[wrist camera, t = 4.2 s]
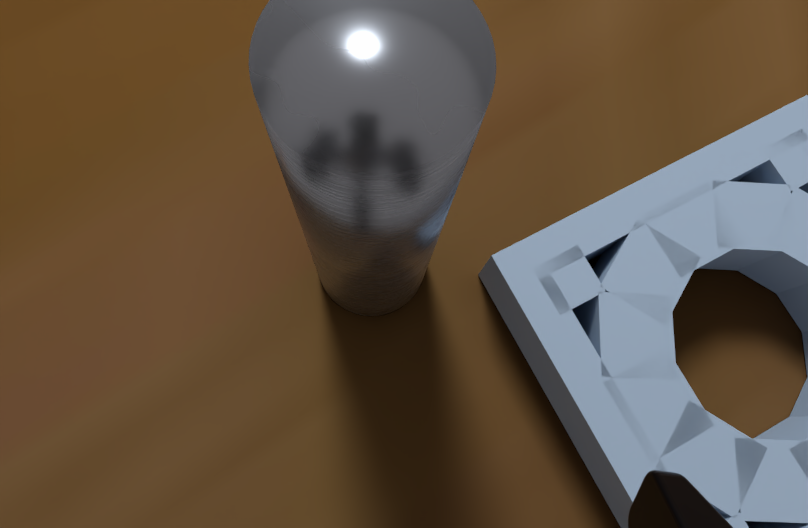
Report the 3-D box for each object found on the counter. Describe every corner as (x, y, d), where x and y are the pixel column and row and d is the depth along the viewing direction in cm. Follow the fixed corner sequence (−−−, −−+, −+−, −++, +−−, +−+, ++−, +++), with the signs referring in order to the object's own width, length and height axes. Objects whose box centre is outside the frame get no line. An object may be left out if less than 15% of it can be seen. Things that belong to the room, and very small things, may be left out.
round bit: (444, 285, 21) (540, 111, 9) (347, 334, 21) (315, 217, 9) (394, 195, 22) (425, -80, 10) (299, 239, 22) (209, 7, 9)
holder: (972, 428, 21) (1050, 429, 19) (673, 621, 19) (717, 649, 17) (762, 129, 23) (807, 94, 21) (478, 274, 22) (491, 255, 19)
